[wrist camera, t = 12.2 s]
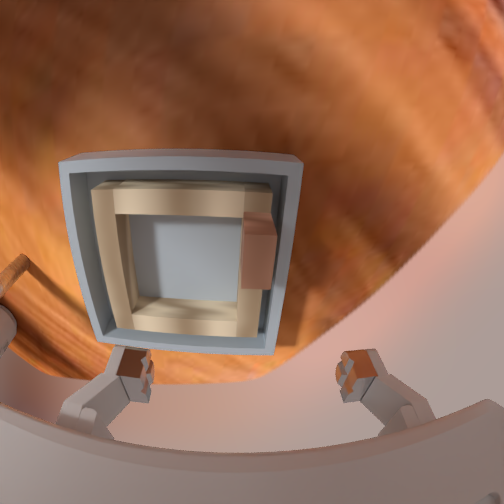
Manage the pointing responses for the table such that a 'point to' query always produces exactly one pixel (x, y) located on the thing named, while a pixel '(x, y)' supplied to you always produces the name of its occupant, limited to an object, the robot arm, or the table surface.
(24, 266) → the rod
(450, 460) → the robot arm
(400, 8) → the table surface
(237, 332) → the ring
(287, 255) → the tray
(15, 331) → the energy drink can
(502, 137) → the table surface
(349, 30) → the table surface
